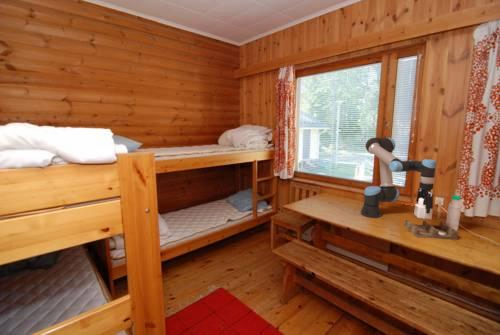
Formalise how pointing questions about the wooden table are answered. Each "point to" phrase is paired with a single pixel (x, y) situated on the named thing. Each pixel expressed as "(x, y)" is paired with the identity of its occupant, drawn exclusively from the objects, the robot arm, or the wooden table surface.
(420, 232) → the rack
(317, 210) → the wooden table surface
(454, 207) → the water bottle
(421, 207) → the container
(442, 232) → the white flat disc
